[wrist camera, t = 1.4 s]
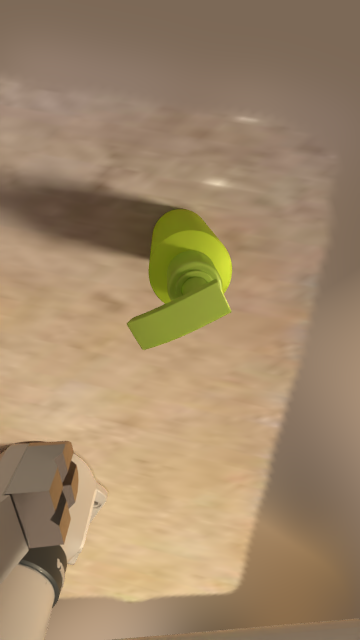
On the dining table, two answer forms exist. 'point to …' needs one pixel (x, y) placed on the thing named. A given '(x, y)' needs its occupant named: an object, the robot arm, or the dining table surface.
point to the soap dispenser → (183, 279)
